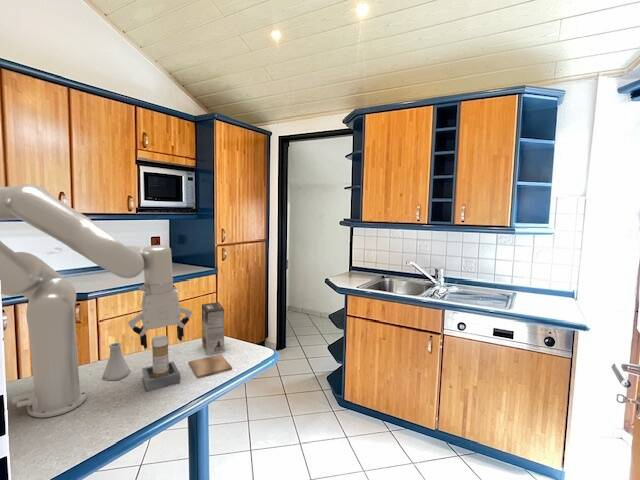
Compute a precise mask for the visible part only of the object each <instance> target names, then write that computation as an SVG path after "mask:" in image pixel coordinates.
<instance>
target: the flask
mask: <svg viewBox="0 0 640 480" xmlns="http://www.w3.org/2000/svg"><path fill="white" fill-rule="evenodd" d="M121 346H122V342H112V343H110V344H109V345H108V348H109V356H108V361H107V364H106V367H105V369H104V371H103V375H102V377H101V378H102V379H103V380H106V381H108V382H109V381H119V380H121V379H123V378H126V377H128V376H129V374H130V372H131V369H130V367H129V365H128V363H127V362H126V360H125V358H124V356H123V353H122V348H121Z"/></svg>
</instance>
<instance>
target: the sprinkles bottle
mask: <svg viewBox="0 0 640 480" xmlns="http://www.w3.org/2000/svg"><path fill="white" fill-rule="evenodd" d="M151 348H152V366H153V377H152V379H153V378H157V377H161V376H165V375H169V371H168V369H169V362H170V361H169V337H168V336H167V335H163V334H162V335H161V334H160V335H156V336H154V337H152V338H151Z"/></svg>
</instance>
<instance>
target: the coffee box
mask: <svg viewBox="0 0 640 480" xmlns="http://www.w3.org/2000/svg"><path fill="white" fill-rule="evenodd" d="M201 343H202V344H201V345H202V348H203V349H204V352H205V354H206V355H207V356H208V355H214V354H215V355H216V354H220V353H223V352H225V308H224V307H223V305H221V303H220V302H219V301H217V302H210V303H203V304H201Z"/></svg>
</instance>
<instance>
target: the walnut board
mask: <svg viewBox="0 0 640 480" xmlns="http://www.w3.org/2000/svg"><path fill="white" fill-rule="evenodd" d="M187 362H188V363H187V364H188V365H189V366H188V367H190V369H191V371H192V373H193V375H194V376H195V377H196V379H197V378H198V379H201V377H202V378H206V377H209V376H213V375H217V374H220V372H221V373H224V371H225V372H228V371H232V370H233V367H232V366H231V364H230V363H229V362H228V361H227V360H226V358H225V357H224V356H223V355H222V354H220V353H219V354H215V355H211V356H208V357H202V358H199V359H198V358H197V359H195V360H189V361H187ZM205 376H206V377H205Z"/></svg>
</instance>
